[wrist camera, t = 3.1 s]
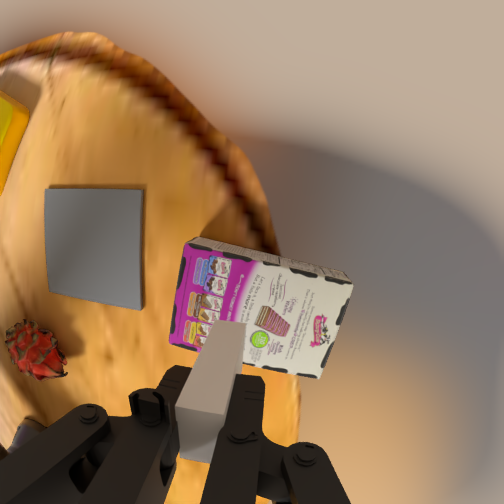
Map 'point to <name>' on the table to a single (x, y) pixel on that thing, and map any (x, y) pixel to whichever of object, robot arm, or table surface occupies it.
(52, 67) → the table surface
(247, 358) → the candy bar box
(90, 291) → the mat
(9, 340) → the dragon fruit
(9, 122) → the element tile
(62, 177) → the table surface
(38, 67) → the table surface
